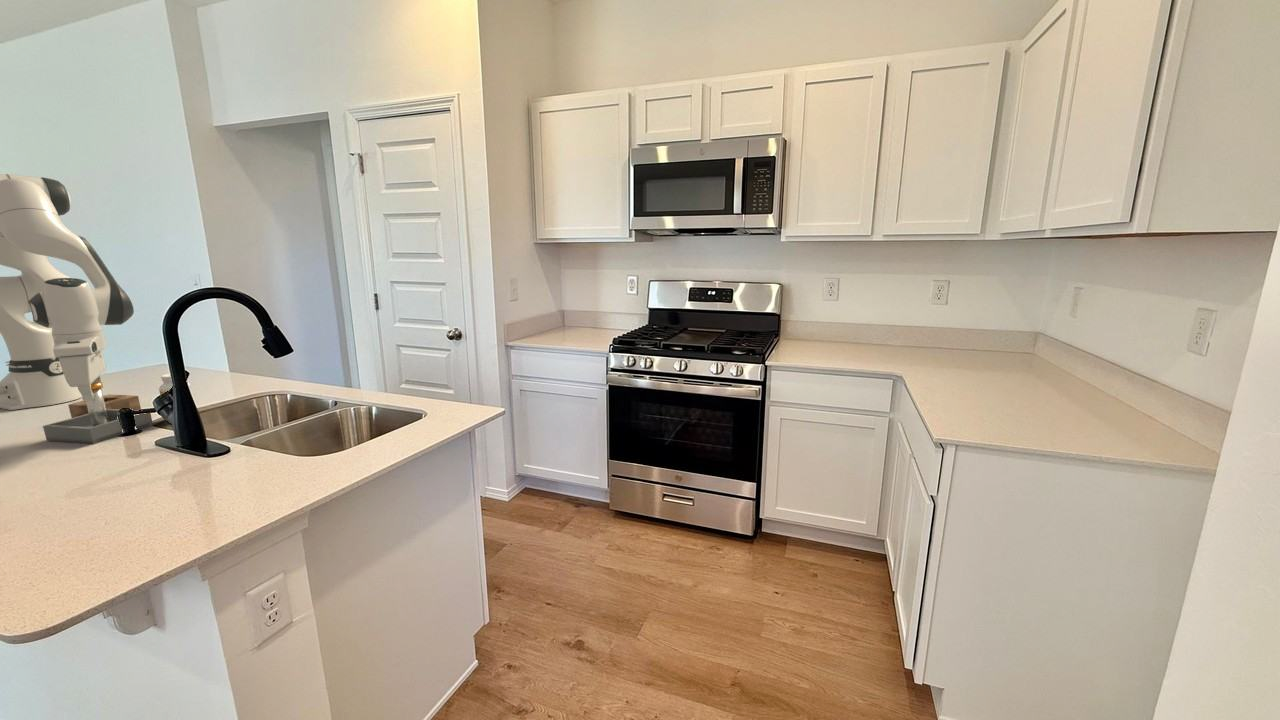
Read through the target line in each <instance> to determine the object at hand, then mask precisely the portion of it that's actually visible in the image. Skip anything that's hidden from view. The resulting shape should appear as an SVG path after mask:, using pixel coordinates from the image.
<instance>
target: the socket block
mask: <svg viewBox="0 0 1280 720" xmlns="http://www.w3.org/2000/svg"><path fill="white" fill-rule="evenodd" d="M103 398H104V402H105V407H106V409H122V408H131V409H133V410H141V411H142V408H141V402H140V398H139V395H126V394H106V395H103ZM67 406H68V409H69V413H70V419H71V418H74V417H78V416H82V415H85V414H89V412H88V408H87V404H86V401H83V400H81V401H78V402H73V403H70V404H68V405H67Z"/></svg>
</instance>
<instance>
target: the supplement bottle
mask: <svg viewBox="0 0 1280 720" xmlns="http://www.w3.org/2000/svg"><path fill="white" fill-rule="evenodd" d="M170 374H171V373H166V374H163V375H162V374H161V377H160V378H161V381H162V382H163V384H161V385H160V386H159V388H158V391H159V395H160V397H161V395H162V394H164V393H165V392H167V391H169V390H170V389H171V388H172V380H171V376H170ZM188 386H189V389H190V391H191V393H192V394H193V392H192V391H193V390H192V386H191V383H189V382H188Z"/></svg>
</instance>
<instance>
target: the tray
mask: <svg viewBox="0 0 1280 720" xmlns="http://www.w3.org/2000/svg"><path fill="white" fill-rule="evenodd" d="M119 410H120V409H106V411H107V415H108V420H109V422H107V423H104V424H101V425H97V426H94V427H92V425H91V420H90V416H89V414H85V415H82V416H78V417H74V418H71V417H70V418H68V419H64V420H61V421H56V422H53V423H49V424H45V425H43V426H42V428H43V432H44V436H45V441H46V442H55V443H56V442H57V443H69V444H70V443H73V444H88V445H95V444H98V443H101V442H105V441H107V440H110V439H114V438H117V437H120V436H122V435H121V434H122V427H121V425H120V422H119V420H118V419H117V412H118V411H119ZM134 411H139V410H134ZM151 413H152V412H150V413H146V414H139V415H135V416H134V418H135V423H136V428H137V429H139V430H142V429H145V428H148V427H151V426H153V425H154V422H153V418H152V414H151Z"/></svg>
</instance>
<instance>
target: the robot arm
mask: <svg viewBox="0 0 1280 720" xmlns="http://www.w3.org/2000/svg"><path fill="white" fill-rule="evenodd" d="M71 205H72V198H71V194H70V193H69V191H68V190H67V188H66V187H65V185H64V184H62V182H60V181H59V180H55V179H53V178H48V177H43V176H42V177H36V176H28V175H21V174H13V173H6V174H4V173H3V174H1V173H0V266H4V267H7V268H11V269H15V270H18V271H20V272H21V274H20V275H16V276H15V275H14V276H13V275H12V276H0V334H1V336H2V338H3V341H4V343H5V345H6V347H7V351H8V353H9V358H10V360H9V361H5V364H6V365H5V366H8V372H9V373H7V374H6V375H5V376H4V377H3V378H2V379H1V380H0V409H2V410H3V409H4V410H8V411H13V410H14V411H15V410H21V409H28V408H37V407H46V406H51V405H57V404H62V403H67V402H72V401H75V400H78V399H81V398H82V401H91V400H93V399H94V394H93V392H92V390H91V383H93V382H102V374H104V372H106V371H107V369H106V368H107V367H106V362H105V361H106V360H105V358H104V355H103V351H102V350H104V349H106V348H107V347H108V346H107V343H106V337H105V333H104V329H103V327H102V326H103V325H104V326H114V325H115V326H118V325H119V326H120V325H123V324H125V323H126V322H127V321H129V320H130V319H131V317H132V316H133V315H134V311H135V310H134V305H133V304H134V303H133V301H132V299H131V298H130V297H129V295H128V294H127V293H126V291H125V290H124V289H123V288H122V287H121V286H120V284H118V282H117V281H116V279H115V277H114V276H113V275H112V273H111V272H110V270H109V269H108V267H107V266H106V264H105V262H104V261H103V260H102V259H101V257H100V256H99V254H98V253H97V251H96V250H95V249H94V247H93V246H92V245H91V243H90V242H89V241H88V240H87V239H86V238H85V237H83V236H81V235H78V234H76V233H74V232H73V231H71V230H70V229H69V228H67V227H66V226H65V225H64V223H63V222H62V221H61V218H60V216H64V215H66V214H68V212H69V211H70V210H71ZM47 257H50V258H54V259H59V260H63V261H67V262H69V263H72V264H75V265H76V266H78V267H80V269H81V271H83V273H84V274H85V276H86V277H87V279H88V280H89V282H90V283H91V284H92V286H93V288H91V286H90V283H88V281H86V280H84V279H81V278H73V277H71V276H69V275H66V274H64V273H62V272H61V271H59V270H58V269H57V268H55V267H54V266H53V265H52V264H51V262H49V259H48V258H47ZM28 313H31V314H32V321H30V320H28V319H27V318H26V315H25V314H28ZM101 325H102V326H101ZM7 363H8V364H7ZM101 389H102V390H103V388H101Z"/></svg>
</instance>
